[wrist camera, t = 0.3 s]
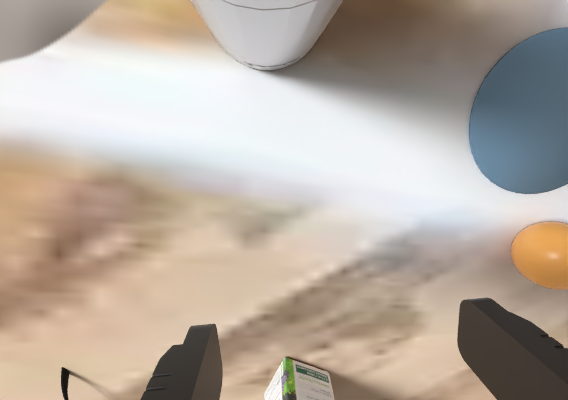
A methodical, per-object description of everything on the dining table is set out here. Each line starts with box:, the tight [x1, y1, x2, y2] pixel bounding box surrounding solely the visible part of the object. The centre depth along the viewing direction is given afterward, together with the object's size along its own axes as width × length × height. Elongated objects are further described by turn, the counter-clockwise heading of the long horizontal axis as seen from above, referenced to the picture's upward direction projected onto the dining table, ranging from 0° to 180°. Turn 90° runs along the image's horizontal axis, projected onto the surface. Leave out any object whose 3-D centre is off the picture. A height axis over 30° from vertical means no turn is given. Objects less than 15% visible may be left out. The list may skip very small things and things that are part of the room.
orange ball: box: [511, 222, 568, 289], centre depth 26 cm, size 6×6×6 cm
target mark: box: [469, 28, 568, 194], centre depth 26 cm, size 14×14×1 cm
